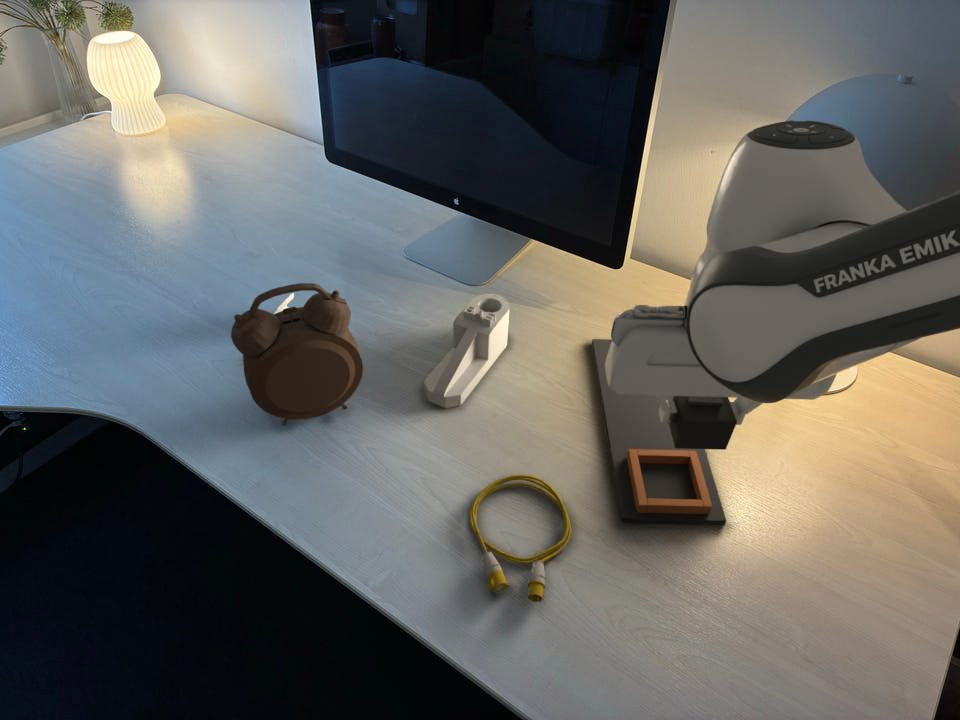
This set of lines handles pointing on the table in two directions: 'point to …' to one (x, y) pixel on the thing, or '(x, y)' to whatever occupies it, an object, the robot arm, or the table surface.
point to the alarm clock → (299, 354)
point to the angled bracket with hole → (470, 350)
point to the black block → (703, 423)
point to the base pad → (653, 461)
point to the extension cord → (493, 567)
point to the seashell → (284, 304)
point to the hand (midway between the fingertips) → (699, 419)
